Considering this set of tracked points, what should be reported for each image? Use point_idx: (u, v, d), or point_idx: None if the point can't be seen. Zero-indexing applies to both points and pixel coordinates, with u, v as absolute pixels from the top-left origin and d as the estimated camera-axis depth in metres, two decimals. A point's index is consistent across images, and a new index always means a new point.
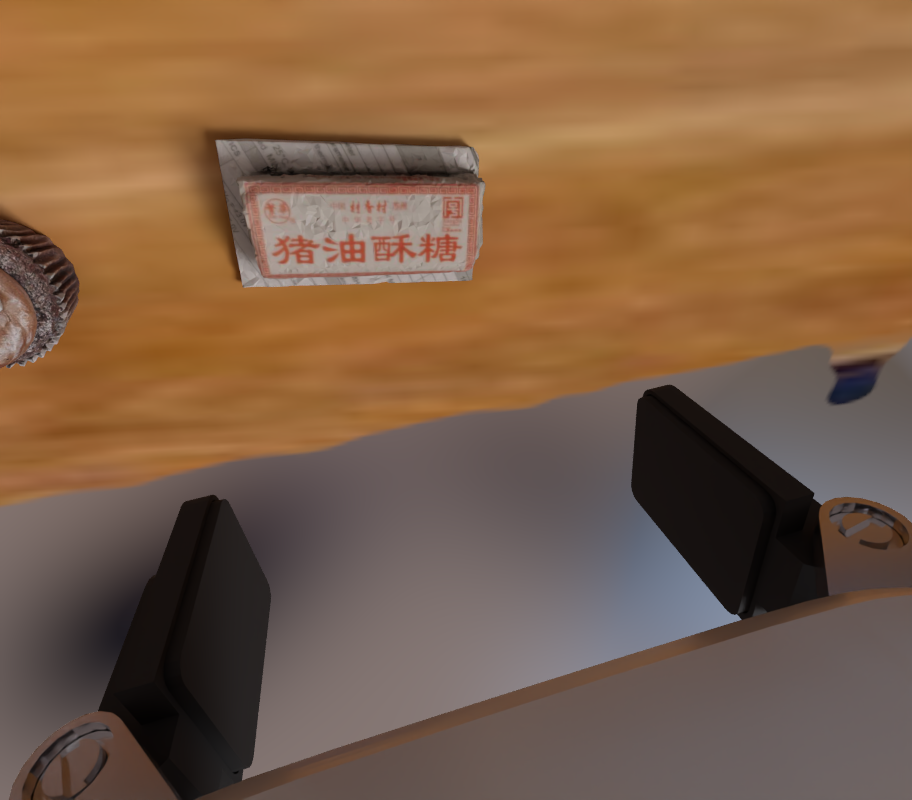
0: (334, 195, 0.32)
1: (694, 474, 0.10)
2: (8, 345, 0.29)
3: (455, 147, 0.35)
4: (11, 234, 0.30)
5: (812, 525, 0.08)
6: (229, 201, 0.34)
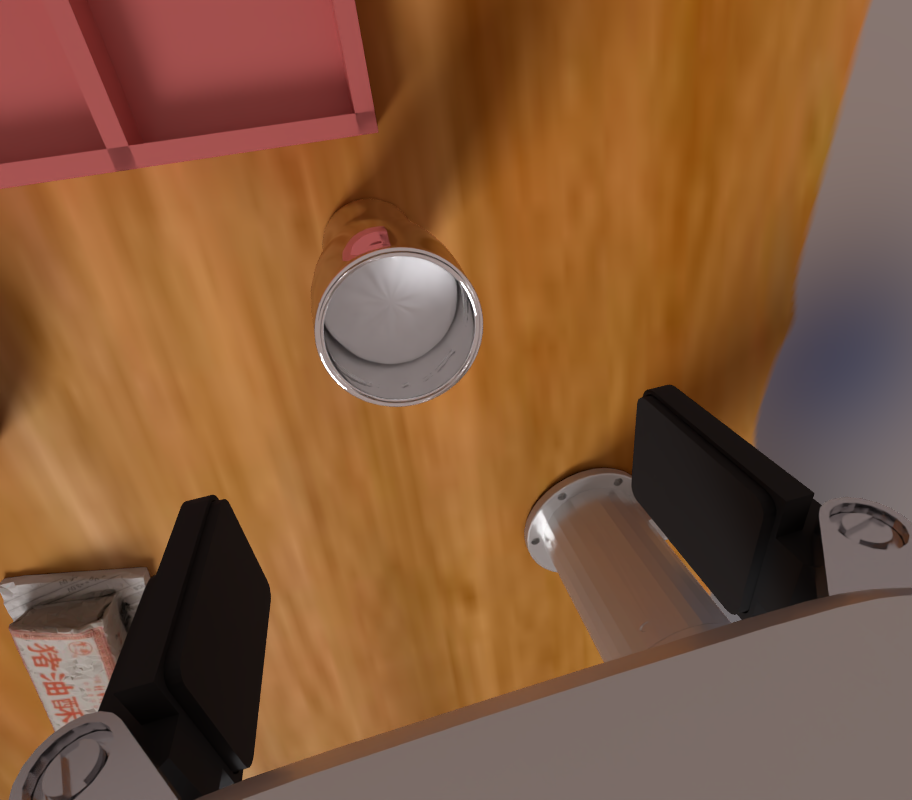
0: (106, 677, 0.39)
1: (694, 474, 0.09)
2: None
3: None
4: None
5: (812, 525, 0.08)
6: (90, 581, 0.38)
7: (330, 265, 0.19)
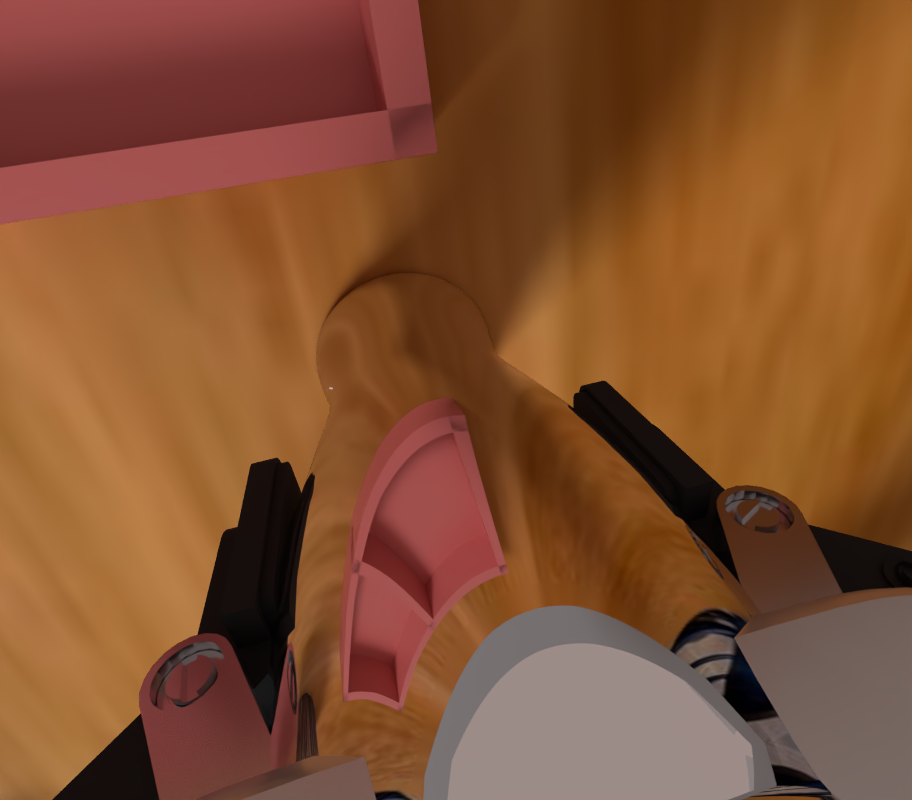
0: None
1: None
2: None
3: None
4: None
5: None
6: None
7: (333, 739, 0.05)
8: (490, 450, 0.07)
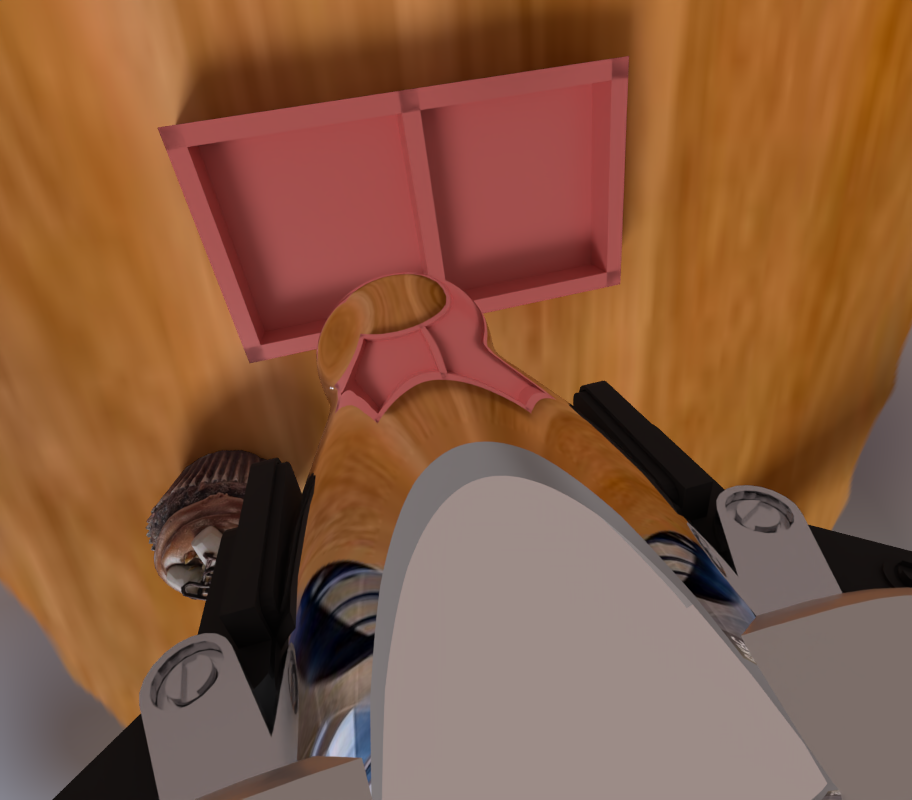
0: None
1: None
2: None
3: None
4: None
5: None
6: None
7: (335, 742, 0.05)
8: (492, 450, 0.07)
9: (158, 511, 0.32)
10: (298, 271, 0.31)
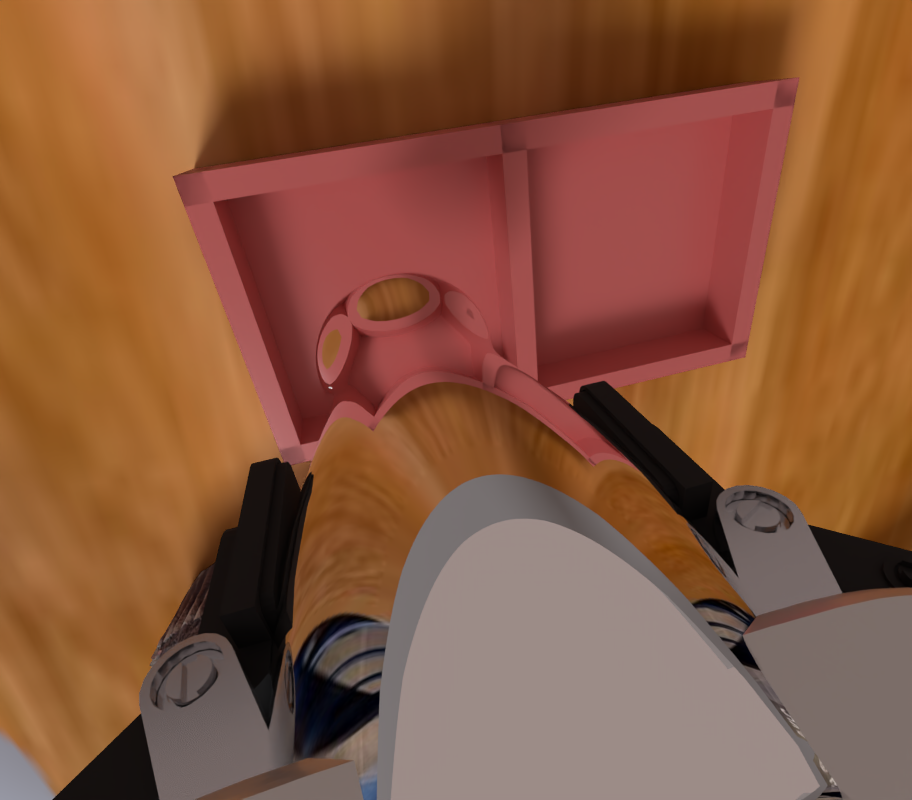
0: None
1: None
2: None
3: None
4: None
5: None
6: None
7: (331, 743, 0.04)
8: (491, 449, 0.07)
9: (166, 648, 0.25)
10: None
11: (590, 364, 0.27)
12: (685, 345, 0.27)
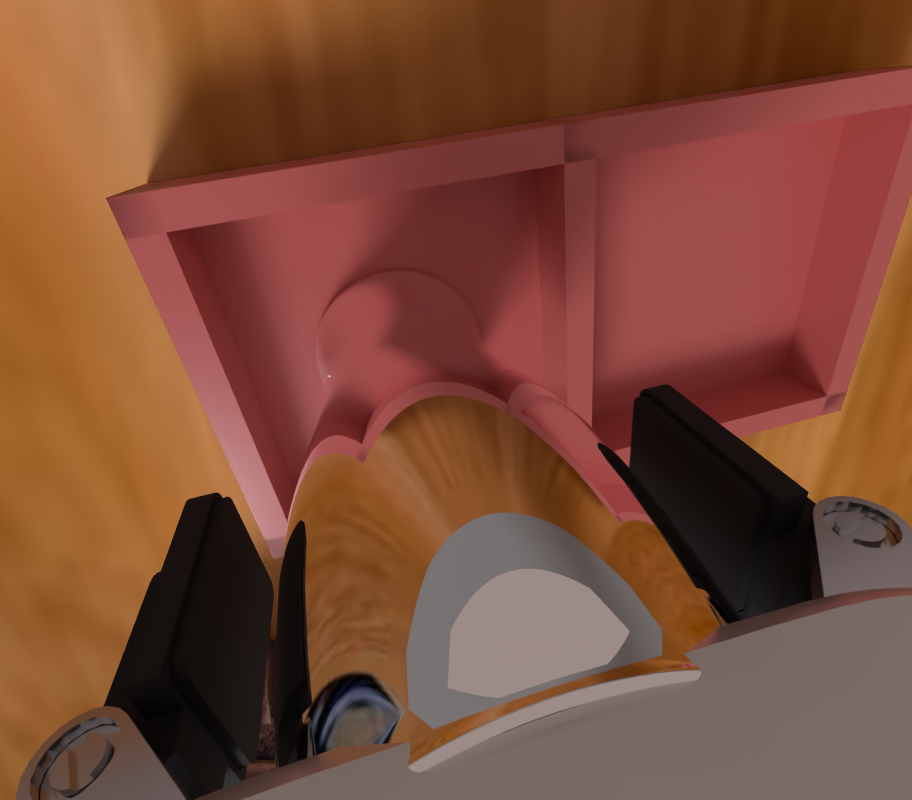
0: None
1: (690, 473, 0.10)
2: None
3: None
4: None
5: (807, 524, 0.08)
6: None
7: (330, 640, 0.06)
8: (467, 417, 0.08)
9: None
10: None
11: None
12: (767, 396, 0.22)
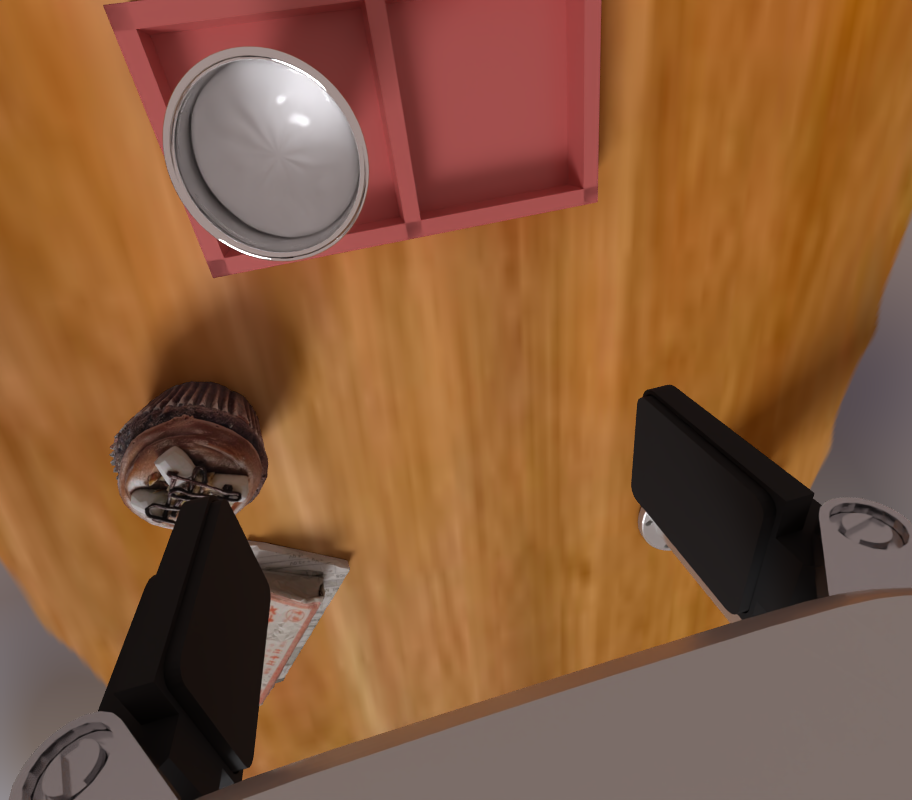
0: (290, 643, 0.46)
1: (694, 474, 0.10)
2: (157, 524, 0.32)
3: (287, 672, 0.53)
4: None
5: (812, 525, 0.08)
6: (311, 561, 0.46)
7: None
8: None
9: (121, 436, 0.31)
10: None
11: (468, 206, 0.33)
12: (548, 192, 0.33)
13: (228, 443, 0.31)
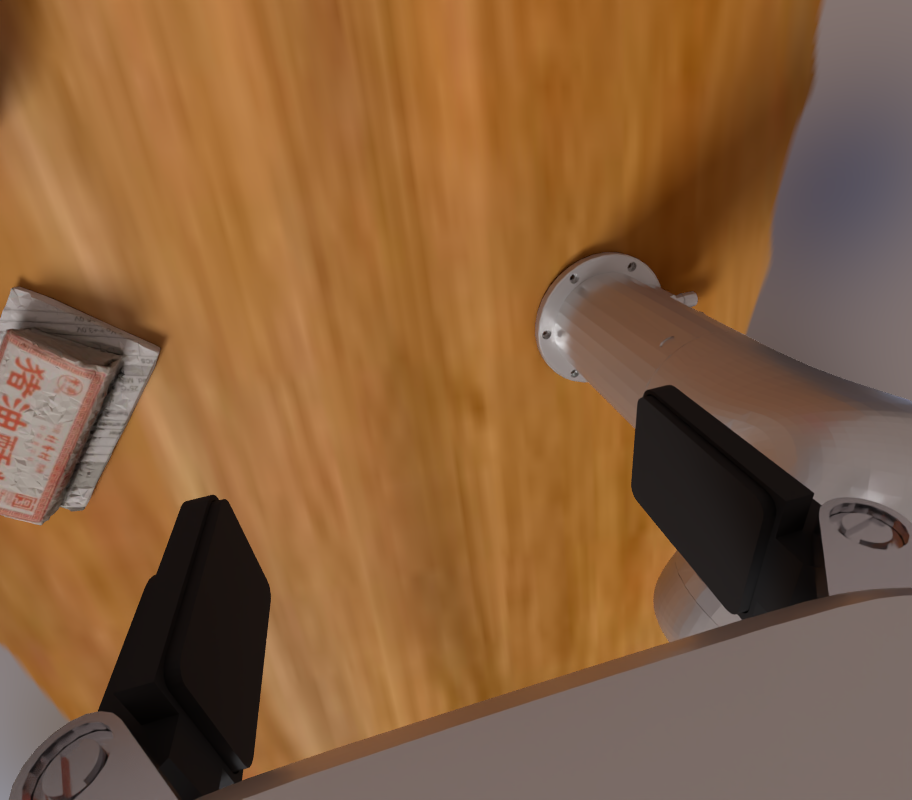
0: (68, 430, 0.37)
1: (694, 474, 0.10)
2: None
3: (88, 498, 0.43)
4: None
5: (812, 525, 0.08)
6: (106, 331, 0.37)
7: None
8: None
9: None
10: None
11: None
12: None
13: None
